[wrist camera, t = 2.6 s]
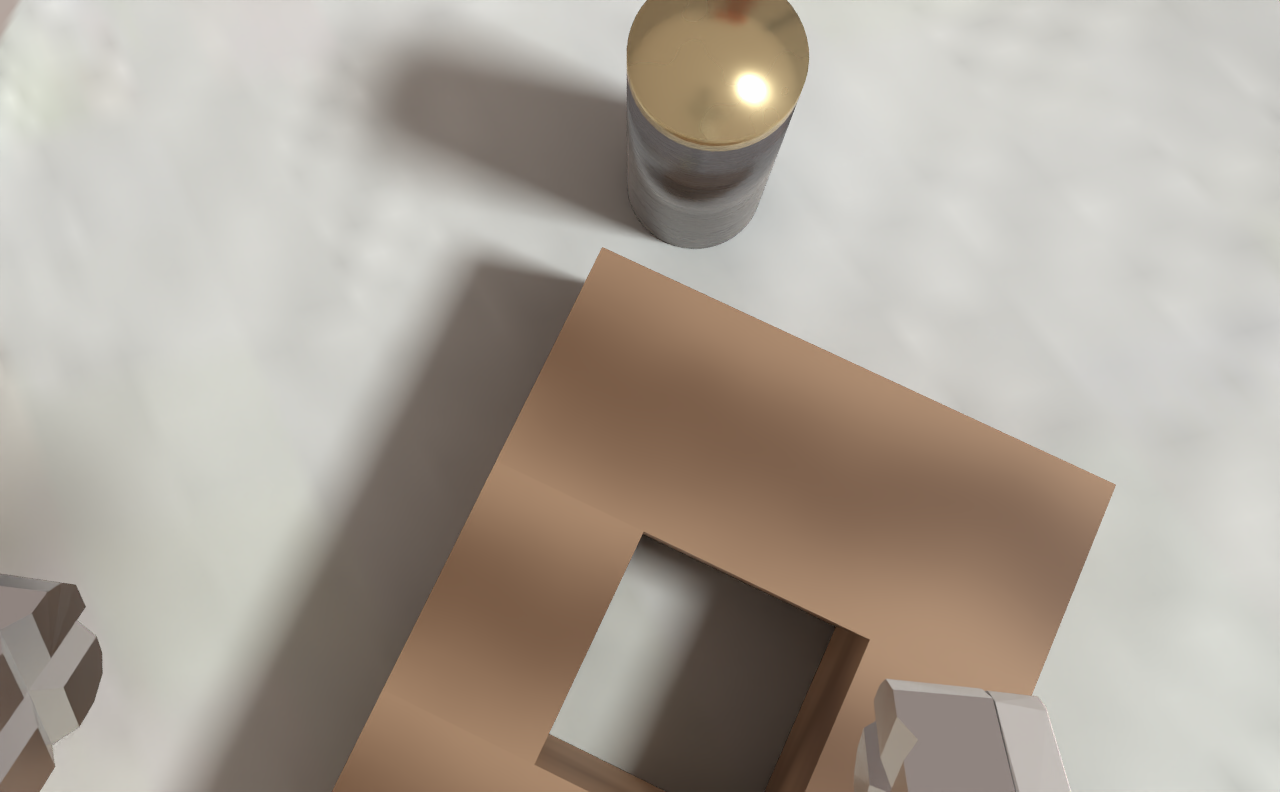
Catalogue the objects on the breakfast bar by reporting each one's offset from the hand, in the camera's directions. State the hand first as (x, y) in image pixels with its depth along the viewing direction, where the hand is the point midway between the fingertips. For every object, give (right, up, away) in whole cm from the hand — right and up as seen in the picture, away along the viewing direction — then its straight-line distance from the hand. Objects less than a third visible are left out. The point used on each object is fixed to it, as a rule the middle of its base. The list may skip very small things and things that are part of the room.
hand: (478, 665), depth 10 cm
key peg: (+3, +9, +20) cm, 22 cm away
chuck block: (+3, -5, +18) cm, 19 cm away
